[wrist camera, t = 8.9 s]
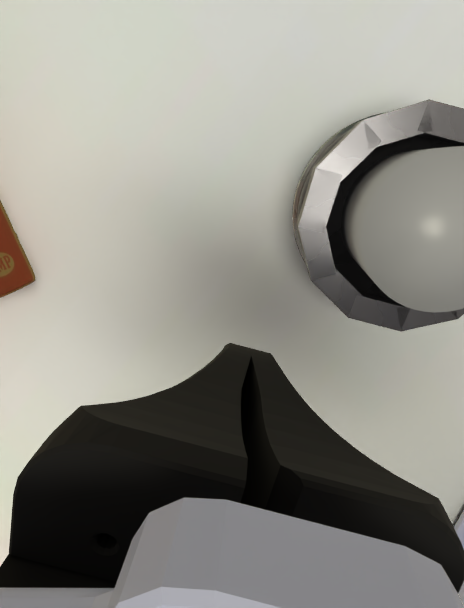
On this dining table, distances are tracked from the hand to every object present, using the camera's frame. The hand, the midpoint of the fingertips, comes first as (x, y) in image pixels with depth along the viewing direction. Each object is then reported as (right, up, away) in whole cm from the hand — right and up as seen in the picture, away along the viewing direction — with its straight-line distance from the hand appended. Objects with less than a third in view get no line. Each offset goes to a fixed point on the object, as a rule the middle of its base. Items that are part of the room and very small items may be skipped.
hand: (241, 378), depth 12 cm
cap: (+7, +6, +4) cm, 10 cm away
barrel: (+7, +7, +8) cm, 13 cm away
